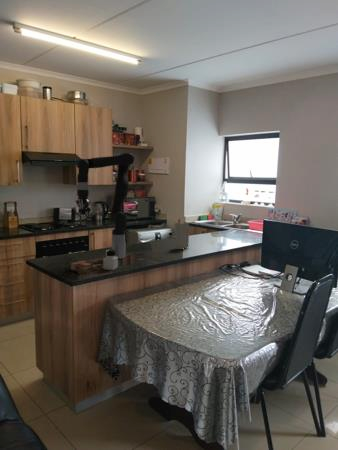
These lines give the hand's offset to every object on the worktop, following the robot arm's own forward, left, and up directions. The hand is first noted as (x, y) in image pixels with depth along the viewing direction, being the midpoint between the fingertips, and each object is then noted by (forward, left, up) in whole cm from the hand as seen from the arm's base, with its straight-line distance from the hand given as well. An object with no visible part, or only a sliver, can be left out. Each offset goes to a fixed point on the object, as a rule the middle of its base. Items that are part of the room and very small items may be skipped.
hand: (83, 214), depth 243 cm
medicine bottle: (+2, +29, -32) cm, 43 cm away
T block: (+15, +18, -32) cm, 40 cm away
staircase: (-78, +28, -33) cm, 89 cm away
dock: (+15, +22, -32) cm, 42 cm away
